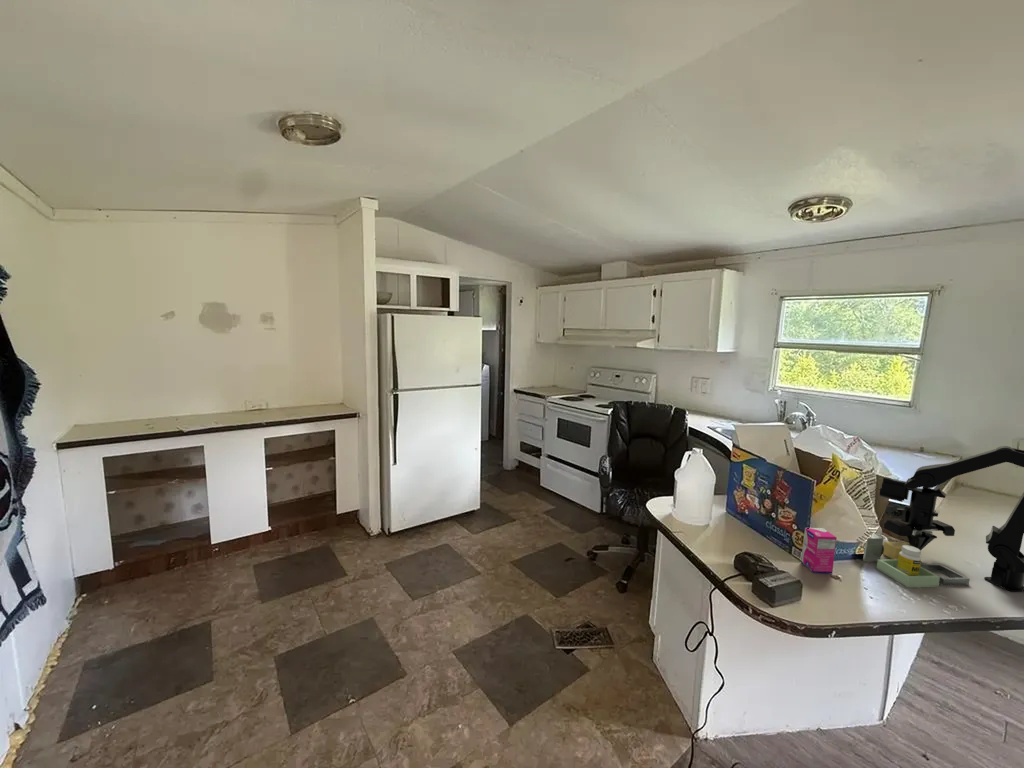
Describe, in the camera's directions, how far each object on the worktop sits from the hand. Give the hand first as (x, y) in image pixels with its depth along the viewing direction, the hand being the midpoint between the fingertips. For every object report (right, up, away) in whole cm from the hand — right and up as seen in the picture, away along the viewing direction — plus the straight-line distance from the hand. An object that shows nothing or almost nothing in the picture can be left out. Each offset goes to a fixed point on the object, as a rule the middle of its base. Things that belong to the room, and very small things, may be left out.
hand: (914, 553), depth 136 cm
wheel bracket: (-15, -1, -1) cm, 15 cm away
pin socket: (-3, -3, -11) cm, 12 cm away
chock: (-5, -1, 0) cm, 5 cm away
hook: (-3, 0, +11) cm, 12 cm away
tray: (-14, -2, -12) cm, 19 cm away
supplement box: (-38, -1, -9) cm, 39 cm away
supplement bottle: (-14, -2, -12) cm, 18 cm away
